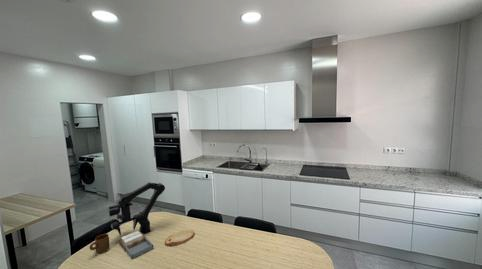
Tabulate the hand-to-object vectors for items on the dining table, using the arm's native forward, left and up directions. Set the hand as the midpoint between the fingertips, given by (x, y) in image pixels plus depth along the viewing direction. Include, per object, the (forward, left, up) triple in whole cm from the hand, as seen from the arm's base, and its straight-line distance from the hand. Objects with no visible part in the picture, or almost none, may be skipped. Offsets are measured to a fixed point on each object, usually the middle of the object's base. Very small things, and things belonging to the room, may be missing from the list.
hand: (127, 232), depth 144 cm
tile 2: (0, +13, -1) cm, 13 cm away
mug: (+18, +4, -4) cm, 19 cm away
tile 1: (0, +8, -1) cm, 8 cm away
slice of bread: (-25, +32, -5) cm, 41 cm away
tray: (-1, +22, -4) cm, 23 cm away
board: (-1, +10, -4) cm, 11 cm away
